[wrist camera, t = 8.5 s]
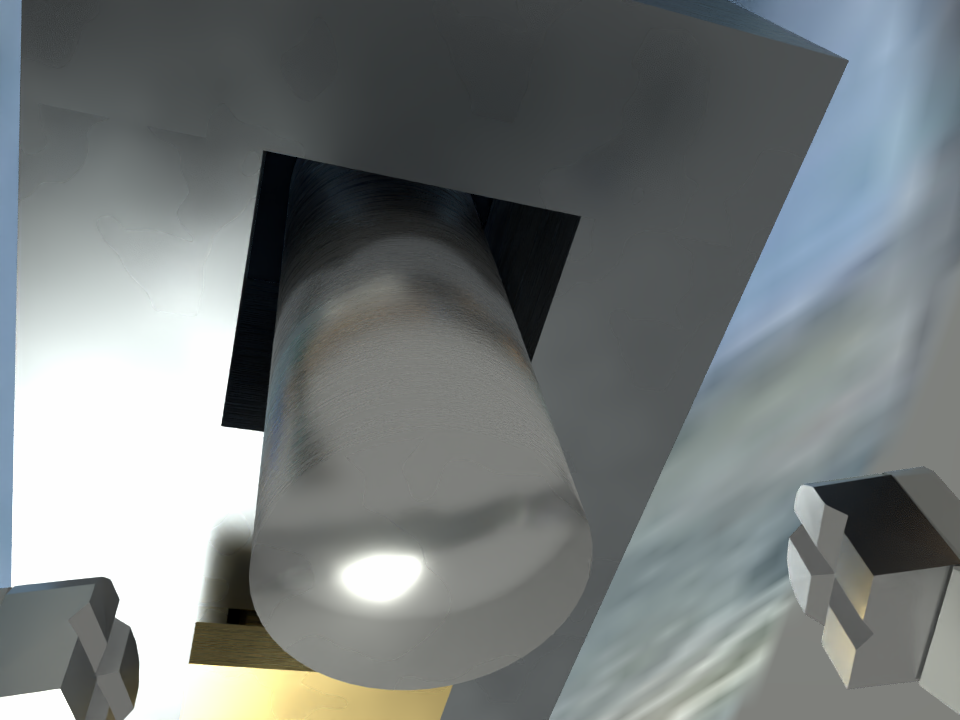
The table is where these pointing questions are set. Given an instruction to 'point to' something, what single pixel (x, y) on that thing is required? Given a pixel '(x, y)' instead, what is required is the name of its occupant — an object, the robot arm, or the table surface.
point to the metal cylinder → (405, 447)
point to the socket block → (391, 152)
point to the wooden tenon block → (282, 683)
